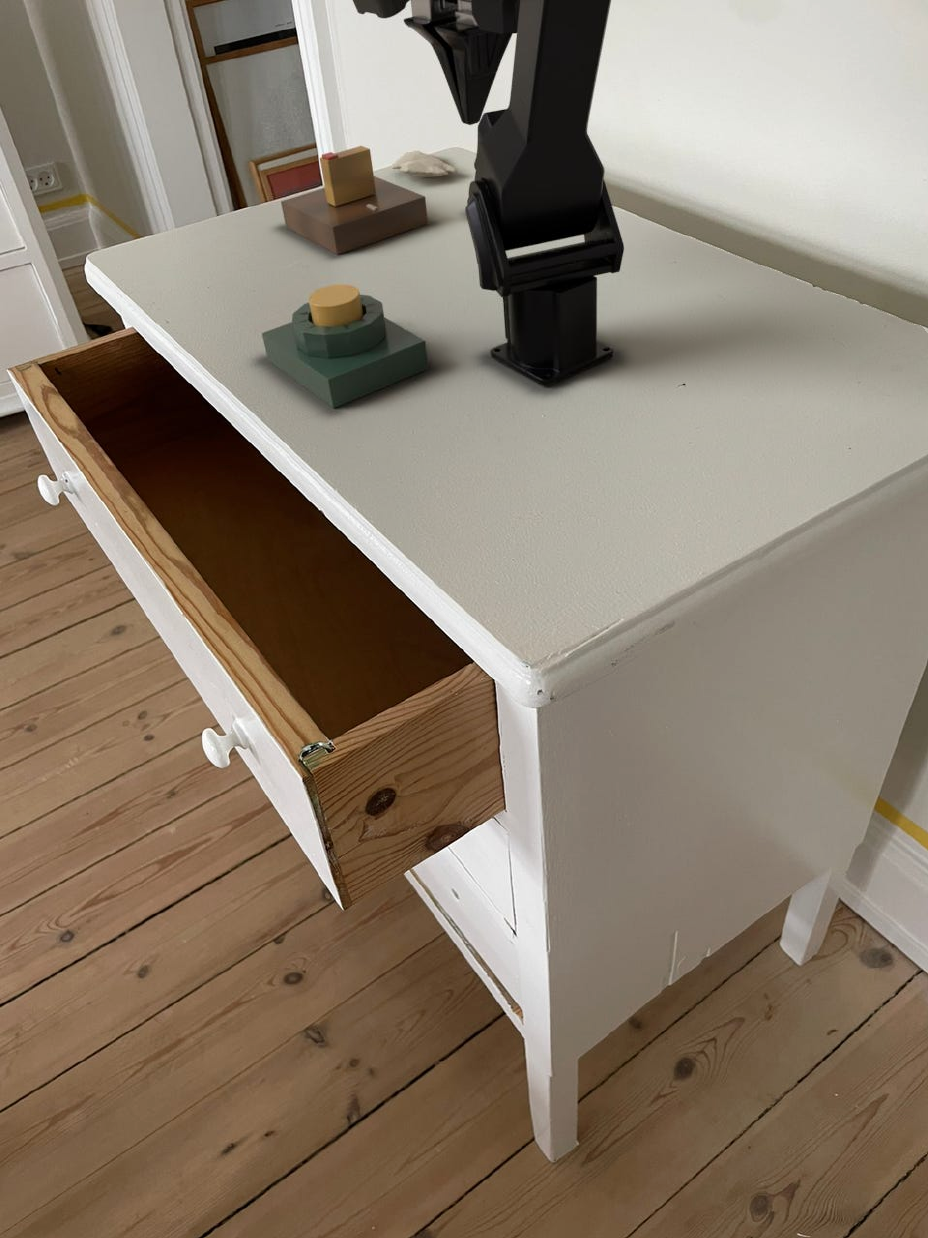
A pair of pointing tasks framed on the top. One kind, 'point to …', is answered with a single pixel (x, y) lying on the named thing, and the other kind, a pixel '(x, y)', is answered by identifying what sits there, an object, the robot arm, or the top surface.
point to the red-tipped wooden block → (348, 175)
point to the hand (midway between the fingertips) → (471, 122)
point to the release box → (345, 353)
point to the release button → (335, 305)
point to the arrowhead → (422, 165)
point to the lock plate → (355, 217)
